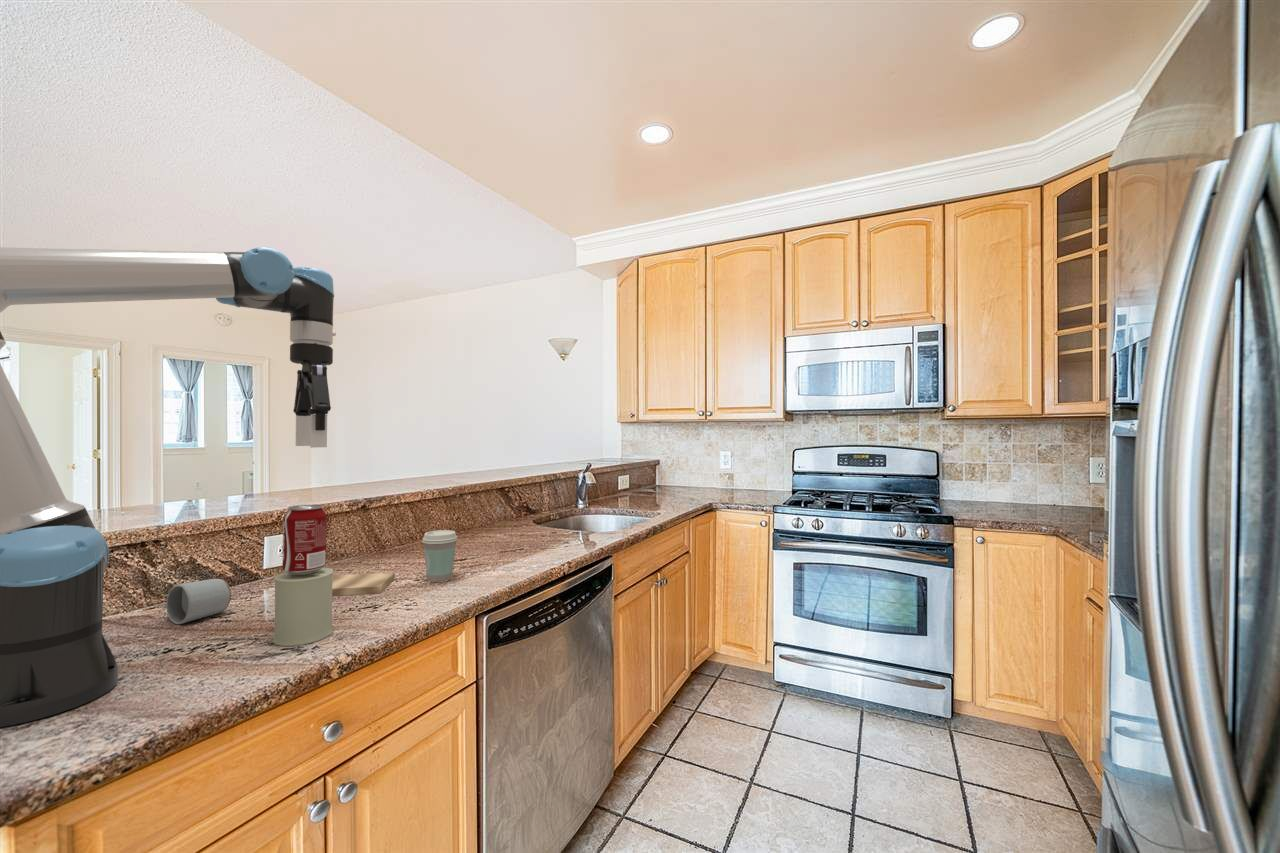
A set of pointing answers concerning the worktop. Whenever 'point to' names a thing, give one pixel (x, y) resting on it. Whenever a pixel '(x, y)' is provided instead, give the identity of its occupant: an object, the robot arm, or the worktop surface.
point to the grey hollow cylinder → (197, 600)
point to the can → (303, 607)
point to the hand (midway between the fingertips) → (310, 446)
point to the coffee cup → (439, 554)
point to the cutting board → (360, 583)
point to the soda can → (304, 539)
